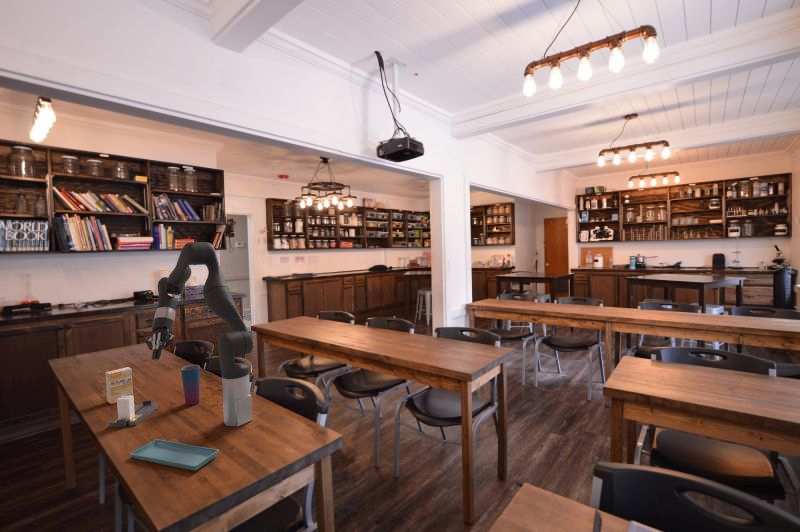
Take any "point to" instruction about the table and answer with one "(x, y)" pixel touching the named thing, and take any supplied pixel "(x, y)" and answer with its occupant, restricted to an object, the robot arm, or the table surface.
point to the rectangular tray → (175, 454)
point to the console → (136, 414)
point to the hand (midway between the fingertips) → (155, 359)
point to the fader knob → (126, 407)
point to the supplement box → (118, 384)
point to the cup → (191, 384)
